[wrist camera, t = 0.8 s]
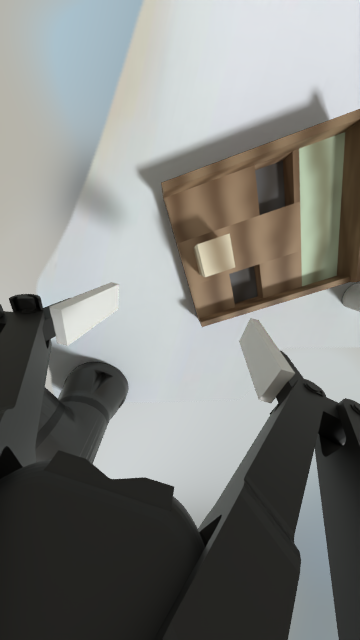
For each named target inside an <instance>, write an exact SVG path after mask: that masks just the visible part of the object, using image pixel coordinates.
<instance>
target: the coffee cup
mask: <svg viewBox="0 0 360 640" xmlns="http://www.w3.org/2000/svg"><path fill="white" fill-rule="evenodd" d="M342 302H343V305H344V306H346V307H348V308H351V309H354V310H357V311H359V312H360V283H356V284H354V285H352V286H350V287H349V288H348V289H347V290H346V292H345V293H344V296H343V299H342Z"/></svg>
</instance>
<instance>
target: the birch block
mask: <svg viewBox="0 0 360 640" xmlns="http://www.w3.org/2000/svg"><path fill="white" fill-rule="evenodd" d="M193 250H194V254H195V258H196V262H197V266H198V269H199V273H200V275H201V276H203V277H207V276H211V275H214V274H217V273H220V272H223V271H226V270H229V269H232V268H235V262H234V257H233V251H232V245H231V239H230V233H229V234H226V235H224V236H221V237H218V238H215V239H212V240H209V241H206V242H203V243H200V244H197V245H196V246H195V247H193Z"/></svg>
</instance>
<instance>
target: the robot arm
mask: <svg viewBox="0 0 360 640" xmlns="http://www.w3.org/2000/svg"><path fill="white" fill-rule="evenodd" d="M9 300H10V303H11V306H12V309H13V312H5V311H3V309H2V306H1V305H0V640H288V635H289V629H290V624H291V618H292V612H293V608H294V602H295V596H296V591H297V586H298V580H299V574H300V564H301V558H300V552H299V550H298V549H297V547H296V546H295V544H294V533H295V529H296V525H297V521H298V516H299V512H300V508H301V504H302V499H303V495H304V490H305V486H306V482H307V478H308V474H309V469H310V465H311V461H312V456H313V452H314V448H315V454H316V462H317V469H318V478H319V486H320V494H321V502H322V510H323V518H324V526H325V533H326V541H327V549H328V557H329V565H330V573H331V581H332V589H333V596H334V604H335V613H336V621H337V629H338V636H339V640H360V404H359V403H357V402H355V401H353V400H350V399H346V398H345V399H343V400H342V401H341V402H340V403H337V402H335V401H333V400H331V399H329V398H327V397H326V395H325V393H324V392H323V390H322V389H321V388H320V387H318V386H317V385H315V384H314V383H313V382H311V381H309V380H306V379H304V378H303V377H302V376H301V374H300V373H299V371H298V370H297V369H296V367H294V365H293V363H292V362H291V360H290V359H289V358H288V356H287V355H285V354H284V353H283V352H282V351H280V350H279V349H278V348H277V346H276V345H275V343H274V342H273V340H272V339H271V337H270V336H269V335H268V333H267V332H266V330H265V329H264V327H263V326H262V324H261V323H260V321H259V320H256V319H252V318H250V320H249V322H248V324H247V327H246V329H245V331H244V333H243V335H242V337H241V339H240V341H239V342H240V345H241V348H242V351H243V354H244V357H245V360H246V363H247V366H248V369H249V372H250V375H251V378H252V381H253V384H254V387H255V390H256V393H257V395H258V399H259V400H261V401H264V402H268V403H272V401H273V400H274V399H275V398H277V401H278V404H277V406H276V407H275V408H274V409H273V410H272V412H271V413H270V417H269V419H268V420H267V422H266V423H265V425H264V426H263V428H262V430H261V431H260V433H259V434H258V436H257V438H256V439H255V441H254V443H253V444H252V446H251V447H250V449H249V451H248V452H247V454H246V456H245V457H244V459H243V460H242V462H241V464H240V465H239V467H238V469H237V470H236V472H235V473H234V475H233V477H232V478H231V480H230V481H229V483H228V485H227V486H226V488H225V490H224V491H223V493H222V494H221V496H220V498H219V499H218V501H217V503H216V504H215V506H214V507H213V508H212V510H211V511H210V512H209V514H208V515H207V516H206V518H205V519H204V521H203V522H202V524H201V525H200V527H199V528H198V529H197V527H196V525H195V523H194V521H193V519H192V518H191V516H190V515H189V513H188V512H187V510H186V509H185V508H184V506H183V505H182V504H181V503H180V502H179V501H178V500H177V499H176V498H174V497H173V492H174V487H173V486H170V485H167V484H164V483H161V482H158V481H154V480H151V479H148V478H130V479H110V478H108V477H107V476H106V475H105V474H103V473H102V472H101V471H100V470H99V469H97V468H96V467H95V466H94V465H93V461H94V458H95V456H96V453H97V451H98V448H99V445H100V443H101V440H102V438H103V435H104V432H105V430H106V427H107V425H108V423H109V420H110V419H111V418H112V417H113V415H114V414H115V413H116V412H117V410H118V409H119V408H120V406H121V405H122V404H123V403H124V401H125V399H126V396H127V393H128V382H127V380H126V378H125V376H124V375H123V374H122V373H121V372H120V371H119V370H118V369H116V368H115V367H113V366H111V365H108V364H105V363H100V362H90V363H85V364H82V365H80V366H78V367H77V368H75V369H74V370H73V371H72V373H71V374H70V375H69V376H68V377H67V379H66V380H65V383H64V386H63V388H62V391H61V393H60V395H59V398H58V399H57V398H56V397H55V396H54V395H53V394H52V393H51V392H50V391H48V389H46V388H45V381H46V375H47V369H48V362H49V356H50V350H51V338H53V337H55V336H56V340H57V343H58V344H62V345H66V346H69V345H70V344H71V343H73V342H74V341H75V340H77V339H78V338H80V337H81V336H82V335H84V334H85V333H86V332H88V331H89V330H91V329H92V328H93V327H95V326H96V325H97V324H99V323H100V322H102V321H103V320H104V319H106V318H107V317H109V316H110V315H111V314H113V313H114V312H115V311H117V310H118V306H119V284H116V283H112V282H111V283H109V284H106V285H103V286H101V287H98V288H96V289H93V290H91V291H88V292H85V293H83V294H80V295H78V296H75V297H73V298H68V299H66V300H63V301H60V302H58V303H55V304H53V305H50V306H48V307H45V308H43V307H42V302H41V298H40V296H38V295H34V294H21V295H15V296H13V297H10V298H9Z"/></svg>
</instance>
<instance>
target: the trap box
mask: <svg viewBox="0 0 360 640" xmlns="http://www.w3.org/2000/svg"><path fill="white" fill-rule="evenodd" d="M161 185H162V193H163V198H164V202H165V205H166V209H167V212H168V216H169V219H170V223H171V226H172V230H173V233H174V237H175V240H176V244H177V247H178V251H179V254H180V257H181V261H182V264H183V268H184V271H185V275H186V278H187V282H188V285H189V289H190V292H191V296H192V299H193V303H194V306H195V309H196V313H197V316H198V319H199V321H200V324H201V326H202V327H204V326H207V325H210V324H214V323H217V322H220V321H223V320H227V319H230V318H233V317H236V316H240V315H243V314H246V313H250V312H253V311H256V310H259V309H263V308H266V307H269V306H272V305H276V304H279V303H282V302H286V301H289V300H292V299H295V298H299V297H302V296H305V295H308V294H312V293H315V292H318V291H322V290H325V289H328V288H331V287H335V286H338V285H341V284H345V283H348V282H359V281H360V109H358V110H356V111H353V112H350V113H347V114H345V115H342V116H339V117H337V118H334V119H331V120H329V121H326V122H323V123H321V124H318V125H315V126H313V127H310V128H307V129H305V130H302V131H299V132H296V133H294V134H291V135H288V136H286V137H283V138H280V139H278V140H275V141H272V142H270V143H267V144H264V145H262V146H259V147H256V148H253V149H251V150H248V151H245V152H243V153H240V154H237V155H235V156H232V157H229V158H227V159H224V160H221V161H219V162H216V163H213V164H210V165H208V166H205V167H202V168H200V169H197V170H194V171H192V172H189V173H186V174H184V175H181V176H178V177H176V178H173V179H170V180H168V181H165V182H162V183H161ZM229 233H230V239H231V245H232V251H233V257H234V262H235V268H232V269H229V270H226V271H223V272H220V273H217V274H214V275H211V276H207V277H203V276H201V275H200V273H199V269H198V266H197V262H196V258H195V254H194V250H193V247H195V246H196V245H197V244H200V243H203V242H206V241H209V240H212V239H215V238H218V237H221V236H224V235H226V234H229Z"/></svg>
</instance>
